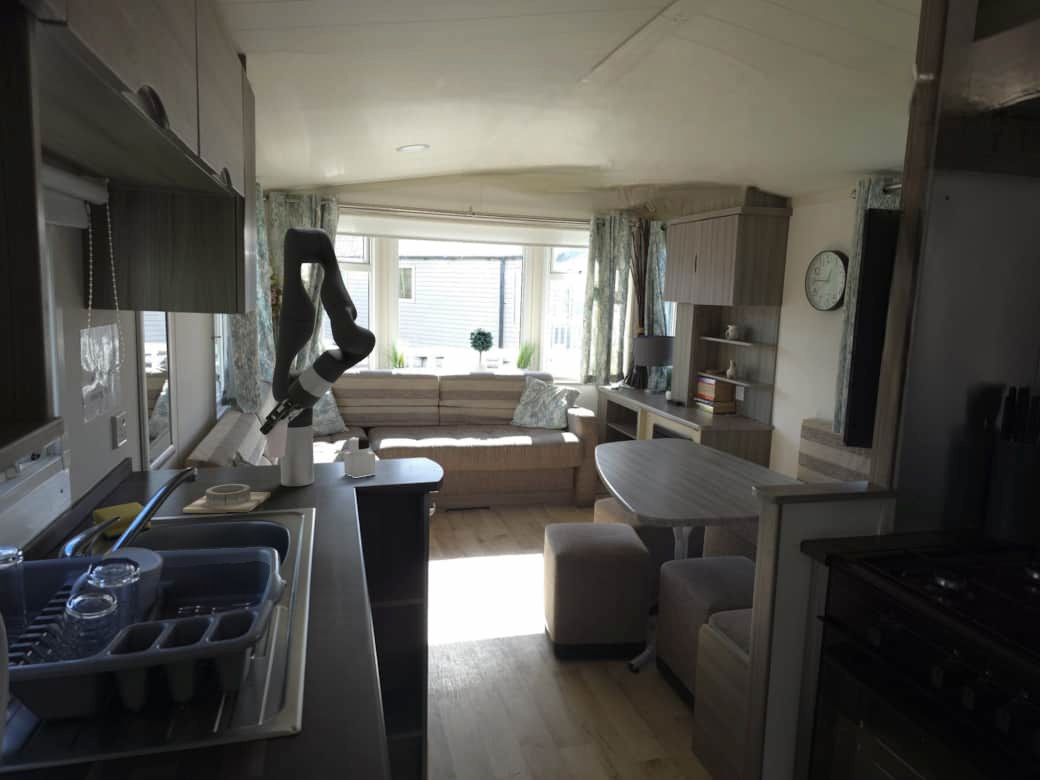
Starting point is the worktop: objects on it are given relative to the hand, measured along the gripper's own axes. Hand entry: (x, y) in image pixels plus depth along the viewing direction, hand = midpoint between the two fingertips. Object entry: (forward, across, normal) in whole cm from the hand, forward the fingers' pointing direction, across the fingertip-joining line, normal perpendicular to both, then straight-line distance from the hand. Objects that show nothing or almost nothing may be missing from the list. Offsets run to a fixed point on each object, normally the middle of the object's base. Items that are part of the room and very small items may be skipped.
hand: (269, 429), depth 171 cm
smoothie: (+4, 0, +6) cm, 7 cm away
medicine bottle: (+8, -36, +21) cm, 42 cm away
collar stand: (+23, 0, +6) cm, 23 cm away
